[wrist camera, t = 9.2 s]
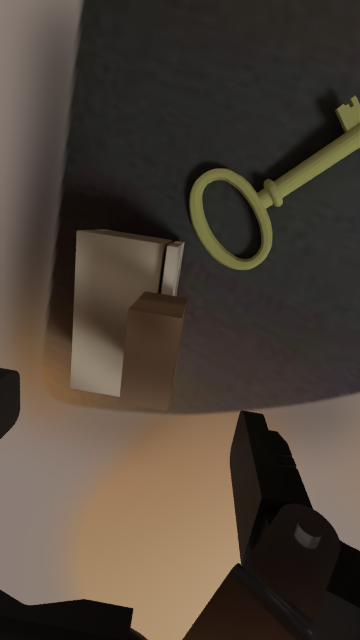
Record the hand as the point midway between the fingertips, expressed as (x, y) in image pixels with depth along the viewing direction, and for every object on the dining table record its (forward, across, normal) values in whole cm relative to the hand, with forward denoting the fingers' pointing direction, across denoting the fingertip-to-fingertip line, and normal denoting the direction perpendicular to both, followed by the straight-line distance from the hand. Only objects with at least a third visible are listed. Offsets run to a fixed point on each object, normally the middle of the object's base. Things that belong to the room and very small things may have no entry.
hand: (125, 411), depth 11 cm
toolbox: (+14, +3, 0) cm, 14 cm away
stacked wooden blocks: (+13, +1, 0) cm, 13 cm away
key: (+14, -6, -10) cm, 18 cm away
